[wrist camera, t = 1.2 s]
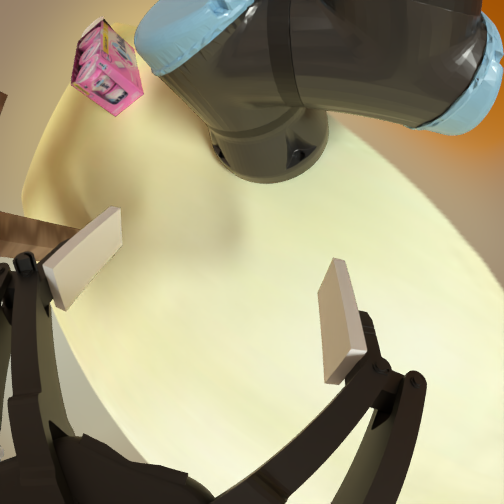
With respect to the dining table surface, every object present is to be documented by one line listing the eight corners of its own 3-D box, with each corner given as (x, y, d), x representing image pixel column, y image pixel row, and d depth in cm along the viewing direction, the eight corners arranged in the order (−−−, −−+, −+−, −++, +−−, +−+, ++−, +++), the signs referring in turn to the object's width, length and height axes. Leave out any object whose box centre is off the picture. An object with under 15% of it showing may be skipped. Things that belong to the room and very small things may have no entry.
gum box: (146, 97, 42) (100, 59, 29) (116, 122, 44) (68, 91, 31) (134, 48, 47) (102, 19, 34) (110, 67, 49) (77, 41, 36)
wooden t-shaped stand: (52, 236, 46) (-58, 214, 20) (141, 165, 40) (-7, 87, 13) (59, 290, 44) (-62, 283, 17) (154, 232, 37) (-39, 177, 10)
